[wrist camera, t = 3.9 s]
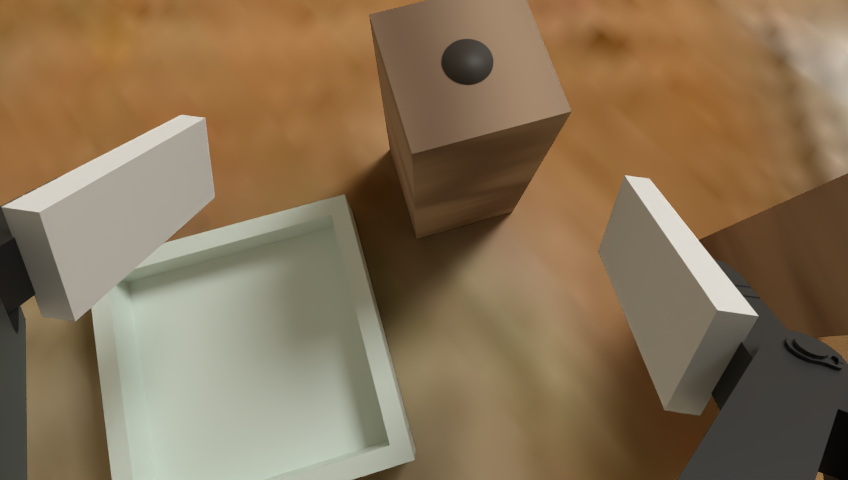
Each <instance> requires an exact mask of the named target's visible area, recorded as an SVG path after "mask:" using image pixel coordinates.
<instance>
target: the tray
mask: <svg viewBox="0 0 848 480" xmlns="http://www.w3.org/2000/svg"><path fill="white" fill-rule="evenodd" d="M91 310H92V318H93V326H94V335H95V343H96V352H97V360H98V368H99V377H100V385H101V393H102V402H103V410H104V419H105V427H106V435H107V444H108V452H109V460H110V469H111V477H112V480H353V479H356V478H359V477H363V476H366V475H369V474H372V473H375V472H379V471H382V470H385V469H388V468H391V467H394V466H398V465H401V464H404V463H407V462H410V461H414V460H415V451H416V449H415V446H414V442H413V438H412V434H411V430H410V427H409V423H408V419H407V415H406V412H405V408H404V404H403V400H402V397H401V393H400V389H399V385H398V382H397V378H396V374H395V370H394V366H393V363H392V359H391V355H390V351H389V348H388V344H387V340H386V336H385V333H384V329H383V325H382V321H381V318H380V314H379V310H378V306H377V302H376V299H375V295H374V291H373V287H372V284H371V280H370V276H369V272H368V269H367V265H366V261H365V257H364V254H363V250H362V246H361V242H360V238H359V235H358V231H357V227H356V223H355V220H354V216H353V212H352V209H351V207H350V205H349V203H348V201H347V199H346V196H345V194H344V195H340V196H336V197H333V198H329V199H325V200H321V201H318V202H314V203H310V204H307V205H303V206H299V207H296V208H292V209H288V210H285V211H281V212H277V213H273V214H270V215H266V216H262V217H259V218H255V219H251V220H248V221H244V222H240V223H236V224H233V225H229V226H225V227H222V228H218V229H214V230H211V231H207V232H203V233H200V234H196V235H192V236H188V237H185V238H181V239H177V240H174V241H170V242H166V243H163V244H162V245H161V246H160V247H159V248H157V249H156V250H155V251H154V252H153V253H152V254H151V255H150V256H148V257H147V258H146V259H145V260H144V261H143V262H142V263H141V264H140V265H138V266H137V267H136V268H135V269H134V270H133V271H132V272H131V273H129V274H128V275H127V276H126V277H125V278H124V279H123V280H122V281H120V282H119V283H118V284H117V285H116V286H115V287H114V288H113V289H111V290H110V291H109V292H108V293H107V294H106V295H105V296H104V297H102V298H101V299H100V300H99V301H98V302H97V303H96V304H95V305H94V306H92V307H91Z"/></svg>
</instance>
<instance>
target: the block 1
mask: <svg viewBox="0 0 848 480" xmlns="http://www.w3.org/2000/svg"><path fill="white" fill-rule="evenodd" d="M369 17H370V23H371V30H372V36H373V43H374V49H375V56H376V62H377V69H378V75H379V82H380V88H381V94H382V101H383V107H384V114H385V120H386V127H387V133H388V140H389V146H390V151H391V154H392V158H393V161H394V165H395V168H396V171H397V175H398V178H399V181H400V185H401V188H402V192H403V195H404V198H405V202H406V205H407V209H408V212H409V215H410V219H411V222H412V225H413V229H414V232H415V236H416V239H418V238H421V237H425V236H429V235H432V234H436V233H439V232H443V231H446V230H450V229H454V228H457V227H461V226H464V225H468V224H471V223H475V222H479V221H482V220H486V219H489V218H493V217H496V216H500V215H503V214H507V213H511V212H513V210H514V208H515V206H516V205H517V203H518V201H519V200H520V198H521V196H522V195H523V193H524V191H525V189H526V188H527V186H528V184H529V183H530V181H531V179H532V178H533V176H534V174H535V173H536V171H537V169H538V167H539V166H540V164H541V162H542V161H543V159H544V157H545V156H546V154H547V152H548V150H549V149H550V147H551V145H552V144H553V142H554V140H555V139H556V137H557V135H558V134H559V132H560V130H561V128H562V127H563V125H564V123H565V122H566V120H567V118H568V117H569V115H570V113H571V109H570V106H569V104H568V101H567V99H566V97H565V94H564V92H563V89H562V87H561V84H560V82H559V79H558V77H557V74H556V72H555V69H554V67H553V64H552V62H551V59H550V57H549V55H548V52H547V50H546V47H545V45H544V42H543V40H542V37H541V35H540V32H539V30H538V27H537V25H536V22H535V20H534V17H533V15H532V13H531V10H530V8H529V5H528V3H527V0H427V1H423V2H419V3H415V4H411V5H407V6H403V7H399V8H394V9H390V10H386V11H382V12H378V13H374V14H370V15H369Z"/></svg>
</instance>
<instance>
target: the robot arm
mask: <svg viewBox="0 0 848 480" xmlns="http://www.w3.org/2000/svg"><path fill="white" fill-rule="evenodd" d="M214 198H215V194H214V186H213V177H212V169H211V161H210V153H209V145H208V137H207V129H206V121H205V118H202V117H194V116H187V115H180V116H178V117H176V118H174V119H172V120H170V121H168V122H166V123H164V124H162V125H160V126H158V127H156V128H154V129H153V130H151V131H149V132H147V133H145V134H143V135H141V136H139V137H137V138H135V139H133V140H131V141H129V142H127V143H125V144H123V145H121V146H119V147H117V148H115V149H113V150H112V151H110V152H108V153H106V154H104V155H102V156H100V157H98V158H96V159H94V160H92V161H90V162H88V163H86V164H84V165H82V166H80V167H78V168H76V169H74V170H72V171H71V172H69V173H67V174H65V175H63V176H61V177H58V178H55V179H53V180H51V181H49V182H47V183H46V184H44V185H42V186H40V187H39V188H37V189H34V190H32V191H30V192H28V193H26V194H25V195H24V196H20V197H18V198H16V199H14V200H12V201H10V202H8V203H6V204H4V205H2V206H0V480H27V413H26V325H25V317H24V314H23V312H22V309H21V307H20V305H22V304H23V303H24V302H26V301H27V300H28V299H30V298H31V297H32V296H35V298H36V301H37V304H38V306H39V309H40V312H41V314H42V317H48V318H55V319H62V320H68V321H75V322H76V321H77V320H78V319H79V318H80V317H81V316H82V315H83V314H85V313H86V312H87V311H88V310H89V309H90V308H91V307H92V306H94V305H95V304H96V303H97V302H98V301H99V300H100V299H101V298H102V297H104V296H105V295H106V294H107V293H108V292H109V291H110V290H111V289H113V288H114V287H115V286H116V285H117V284H118V283H119V282H120V281H122V280H123V279H124V278H125V277H126V276H127V275H128V274H129V273H131V272H132V271H133V270H134V269H135V268H136V267H137V266H138V265H140V264H141V263H142V262H143V261H144V260H145V259H146V258H147V257H148V256H150V255H151V254H152V253H153V252H154V251H155V250H156V249H157V248H159V247H160V246H161V245H162V244H163V243H164V242H165V241H166V240H168V239H169V238H170V237H171V236H172V235H173V234H174V233H175V232H177V231H178V230H179V229H180V228H181V227H182V226H183V225H184V224H185V223H187V222H188V221H189V220H190V219H191V218H192V217H193V216H194V215H196V214H197V213H198V212H199V211H200V210H201V209H202V208H203V207H205V206H206V205H207V204H208V203H209V202H210V201H211V200H212V199H214ZM598 252H599V254H600V257H601V259H602V262H603V264H604V266H605V269H606V271H607V274H608V276H609V278H610V281H611V283H612V286H613V288H614V290H615V293H616V295H617V298H618V300H619V302H620V305H621V307H622V310H623V312H624V314H625V317H626V319H627V322H628V324H629V326H630V329H631V331H632V333H633V336H634V338H635V341H636V343H637V345H638V348H639V350H640V353H641V355H642V357H643V360H644V362H645V365H646V367H647V369H648V372H649V374H650V377H651V379H652V381H653V384H654V386H655V389H656V391H657V393H658V396H659V398H660V401H661V403H662V405H663V408H664V410H665V411H672V412H679V413H685V414H692V415H699V416H700V415H701V414H702V412H703V410H704V409H705V407H706V405H707V404H708V402H709V400H710V398H711V397H712V396H713V398H714V399H715V401H716V403H717V405H718V407H719V409H720V410H721V411H720V412H719V414H718V416H717V417H716V419H715V420H714V422H713V424H712V425H711V427H710V428H709V430H708V432H707V433H706V435H705V436H704V438H703V440H702V441H701V443H700V444H699V446H698V448H697V449H696V451H695V452H694V454H693V456H692V457H691V459H690V460H689V462H688V464H687V465H686V467H685V469H684V470H683V472H682V473H681V475H680V477H679V478H678V480H815V478H816V475H817V472H818V471H819V472H821V473H823V477H824V480H848V364H847V363H846V361H845V360H844V359H843V357H842V356H841V355H840V354H839V353H837V352H836V351H835V350H833V349H832V348H831V347H830V346H828V345H826V344H825V343H823V342H821V341H819V340H817V339H816V338H814V337H811V336H809V335H806V334H803V333H801V332H797V331H792V330H788V329H786V327H785V326H784V325H783V324H782V323H781V321H780V320H779V319H778V318H777V317H776V316H775V314H774V313H773V312H772V311H771V310H770V308H769V307H768V306H767V305H766V304H765V302H764V301H763V300H760V297H759V295H758V294H757V293H756V292H755V291H754V289H751V286H750V285H749V284H748V282H747V281H746V280H745V279H744V278H743V276H742V275H741V274H740V273H739V272H737V271H736V270H734V269H733V268H731V267H730V266H729V265H727V264H726V263H724V262H723V261H718V260H714V259H713V258H712V257H711V255H710V254H709V253H708V252H707V250H706V249H705V248H704V247H703V245H702V244H701V243H700V242H699V240H698V239H697V238H696V237H695V235H694V234H693V233H692V232H691V230H690V229H689V228H688V227H687V225H686V224H685V223H684V221H683V220H682V219H681V218H680V216H679V215H678V214H677V213H676V211H675V210H674V209H673V208H672V206H671V205H670V204H669V203H668V201H667V200H666V199H665V198H664V196H663V195H662V194H661V193H660V191H659V190H658V189H657V188H656V186H655V185H654V184H653V182H652V181H651V180H650V179H648V178H640V177H633V176H626V175H624V178H623V181H622V184H621V187H620V190H619V193H618V195H617V198H616V201H615V204H614V207H613V210H612V213H611V216H610V219H609V222H608V225H607V228H606V230H605V233H604V236H603V239H602V242H601V245H600V248H599V251H598Z"/></svg>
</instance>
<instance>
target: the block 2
mask: <svg viewBox="0 0 848 480" xmlns="http://www.w3.org/2000/svg"><path fill="white" fill-rule="evenodd" d="M699 242H700V243H701V244H702V245H703V247H704V248H705V249H706V250H707V252H708V253H709V254H710V255H711V257H712V258H713V259H714V260H718V261H723V262H724V263H726V264H727V265H729V266H730V267H731V268H733V269H734V270H736V271H737V272H739V273H740V274H741V275H742V276H743V278H744V279H745V280H746V281H747V282H748V284H749V285H750V286H751V289H754V291H755V292H756V293H757V294H758V295H759V297H760V300H763V301H764V302H765V304H766V305H767V306H768V307H769V308H770V310H771V311H772V312H773V313H774V314H775V316H776V317H777V318H778V319H779V320H780V321H781V323H782V324H783V325H784V326H785V327H786V329H788V330H792V331H797V332H801V333H803V334H806V335H809V336H811V337H826V336H841V335H848V174H845V175H843V176H841V177H839V178H836V179H834V180H832V181H830V182H827V183H825V184H823V185H821V186H819V187H816V188H814V189H812V190H810V191H807V192H805V193H803V194H801V195H798V196H796V197H794V198H792V199H789V200H787V201H785V202H783V203H781V204H778V205H776V206H774V207H772V208H769V209H767V210H765V211H763V212H760V213H758V214H756V215H754V216H751V217H749V218H747V219H745V220H743V221H740V222H738V223H736V224H734V225H731V226H729V227H727V228H725V229H722V230H720V231H718V232H716V233H713V234H711V235H709V236H707V237H705V238H702V239H700V240H699Z"/></svg>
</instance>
